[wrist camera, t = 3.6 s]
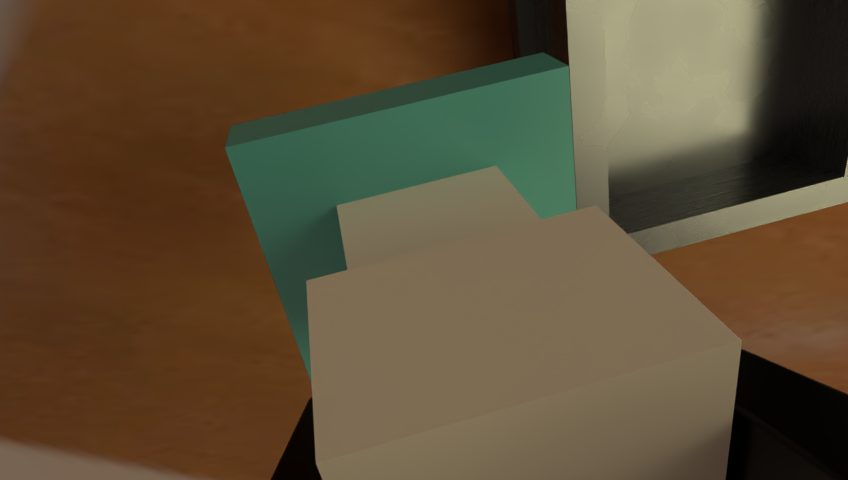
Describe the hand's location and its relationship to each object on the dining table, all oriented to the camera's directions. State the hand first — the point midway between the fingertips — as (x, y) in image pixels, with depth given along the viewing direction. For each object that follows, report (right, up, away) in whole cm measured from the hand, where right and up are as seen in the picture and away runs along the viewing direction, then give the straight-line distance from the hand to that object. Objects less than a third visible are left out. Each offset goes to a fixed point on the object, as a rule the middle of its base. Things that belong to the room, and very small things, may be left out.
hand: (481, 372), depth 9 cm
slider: (-1, +2, +4) cm, 5 cm away
